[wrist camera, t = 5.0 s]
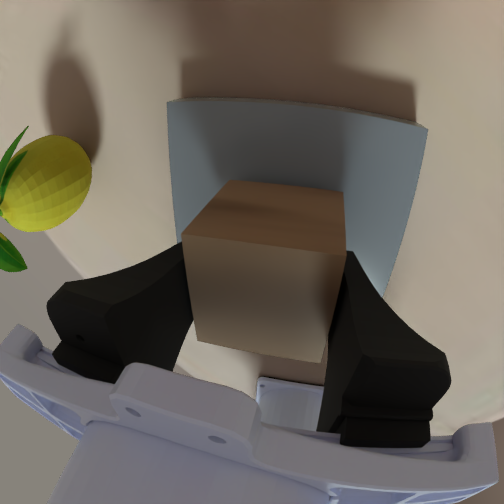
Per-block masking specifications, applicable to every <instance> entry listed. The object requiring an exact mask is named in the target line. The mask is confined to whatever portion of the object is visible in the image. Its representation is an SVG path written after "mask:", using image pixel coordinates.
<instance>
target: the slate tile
mask: <svg viewBox="0 0 504 504" xmlns="http://www.w3.org/2000/svg"><path fill="white" fill-rule="evenodd" d="M167 121H168V141H169V158H170V172H171V185H172V196H173V207H174V217H175V227H176V236H177V244H178V243H179V242H181V241H182V239H181V233H182V232H183V231H184V230H185V228H186V227H187V226H188V225H189V224H190V223H191V222H192V220H193V219H194V218H195V217H196V216H197V215H198V214H199V213H200V211H201V210H202V209H203V208H204V207H205V206H206V205H207V204H208V202H209V201H210V200H211V199H212V198H213V197H214V196H215V195H216V194H217V193H218V191H219V190H220V189H221V188H222V187H223V186H224V185H225V184H226V183H227V182H228V181H229V180H240V181H252V182H263V183H273V184H283V185H292V186H301V187H309V188H317V189H325V190H333V191H340V192H343V196H344V211H345V229H346V250H349V251H353V252H354V254H355V255H356V257H357V259H358V261H359V263H360V264H361V266H362V268H363V270H364V271H365V273H366V275H367V276H368V278H369V279H370V281H371V283H372V284H373V286H374V287H375V289H376V290H377V291H378V293H379V294H380V296H381V297H383V295H384V292H385V289H386V286H387V284H388V281H389V278H390V275H391V272H392V269H393V266H394V263H395V260H396V257H397V254H398V251H399V248H400V245H401V242H402V238H403V235H404V232H405V228H406V225H407V221H408V218H409V214H410V210H411V207H412V203H413V199H414V195H415V191H416V187H417V182H418V178H419V174H420V169H421V165H422V160H423V155H424V150H425V144H426V139H427V133H428V129H427V128H425V127H424V126H422V125H420V124H419V123H417V122H413V121H409V120H405V119H401V118H396V117H392V116H387V115H382V114H377V113H372V112H367V111H361V110H356V109H350V108H343V107H337V106H330V105H322V104H314V103H305V102H296V101H285V100H272V99H255V98H223V97H200V98H182V99H177V100H173V101H169V102H167Z"/></svg>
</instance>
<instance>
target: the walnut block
mask: <svg viewBox="0 0 504 504" xmlns="http://www.w3.org/2000/svg"><path fill="white" fill-rule="evenodd" d="M181 239H182V246H183V254H184V261H185V268H186V275H187V281H188V288H189V294H190V300H191V306H192V312H193V318H194V324H195V330H196V335H197V341H201V342H205V343H210V344H214V345H219V346H223V347H228V348H233V349H238V350H243V351H248V352H253V353H258V354H264V355H269V356H275V357H281V358H287V359H293V360H300V361H306V362H313V363H320V362H321V359H322V355H323V352H324V348H325V345H326V341H327V337H328V333H329V330H330V326H331V322H332V318H333V314H334V310H335V306H336V302H337V297H338V293H339V289H340V284H341V280H342V275H343V271H344V266H345V261H346V256H347V254H346V229H345V211H344V196H343V192H340V191H333V190H325V189H317V188H309V187H301V186H292V185H283V184H273V183H263V182H252V181H240V180H229V181H228V182H227V183H226V184H225V185H224V186H223V187H222V188H221V189H220V190H219V191H218V193H217V194H216V195H215V196H214V197H213V198H212V199H211V200H210V201H209V202H208V204H207V205H206V206H205V207H204V208H203V209H202V210H201V211H200V213H199V214H198V215H197V216H196V217H195V218H194V219H193V220H192V222H191V223H190V224H189V225H188V226H187V227H186V228H185V230H184V231H183V232H182V233H181Z"/></svg>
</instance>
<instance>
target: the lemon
mask: <svg viewBox="0 0 504 504" xmlns="http://www.w3.org/2000/svg"><path fill="white" fill-rule="evenodd" d="M28 127H29V126H27V127H26V128H25V130H24V131H23V132H22V133H21V134H20V135H19V136H18V137H17V138H16V139H15V141H14V142H13V143H12V144H11V146H10V147H9V148H8V150H7V151H6V153H5V154H4V156H3V158H2V160H1V162H0V216H1V217H3V218H4V219H5V220H6V221H7V222H8V223H9V224H10V225H12V226H13V227H14V228H17V229H19V230H22V231H25V232H36V231H44V230H48V229H51V228H53V227H56V226H58V225H59V224H61V223H63V222H64V221H65V220H67V219H68V218H69V217H70V216H71V215H73V214H74V213H75V212H76V211H77V210H78V209H79V208H80V206H81V205H82V203H83V201H84V199H85V197H86V195H87V193H88V191H89V188H90V184H91V178H92V167H91V163H90V160H89V158H88V156H87V154H86V152H85V151H84V149H83V148H82V147H81V146H80V145H79V144H78V143H76V142H75V141H73V140H71V139H70V138H68V137H64V136H58V135H48V136H45V137H42V138H39V139H37V140H35V141H33V142H31V143H29V144H27V145H26V146H24V147H23V148H22V149H20V150H19V151H18V152H17V153H16V154H15V155H14V156H13V157H12V154H13V152H14V150H15V149H16V147H17V145H18V143H19V141H20V139H21V138H22V136H23V134H24V133H25V131H26V130H27V128H28ZM11 157H12V158H11ZM0 269H2V270H4V271H8V272H19V271H22V270H25V269H27V266H26V264H25V262H24V259H23V258H22V256H21V254H20V253H19V251H18V250H17V249H16V248H15V246H14V245H13V244H12V243H11V242H10V241H9V240H8V239H7V238H6V237H5V236H4V235H3V234H2V233H0Z"/></svg>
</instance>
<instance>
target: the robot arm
mask: <svg viewBox="0 0 504 504" xmlns="http://www.w3.org/2000/svg"><path fill="white" fill-rule="evenodd" d="M346 254H347V256H346V261H345V266H344V271H343V275H342V280H341V284H340V289H339V293H338V297H337V302H336V306H335V310H334V314H333V318H332V322H331V326H330V330H329V333H328V361H327V369H326V376H325V383H324V387H322V386H315V385H308V384H301V383H295V382H289V381H283V380H277V379H272V378H266V377H260V378H258V381H257V393H256V401H255V400H254V399H252V398H251V397H249V396H248V395H247V394H245V393H244V392H242V391H239V390H236V389H233V388H230V387H228V386H224V385H220V384H216V383H212V382H208V381H204V380H200V379H197V378H193V377H189V376H186V375H182V374H179V373H175V372H173V368H174V366H175V363H176V360H177V357H178V355H179V352H180V349H181V347H182V344H183V342H184V339H185V337H186V334H187V332H188V330H189V328H190V326H191V324H192V322H193V320H194V318H193V312H192V306H191V300H190V294H189V288H188V281H187V275H186V268H185V261H184V254H183V246H182V241H181V242H179V243H178V244H176V245H174V246H173V247H171V248H169V249H167V250H165V251H163V252H161V253H160V254H158V255H156V256H154V257H152V258H150V259H148V260H146V261H143V262H141V263H138V264H136V265H134V266H131V267H128V268H125V269H122V270H119V271H116V272H113V273H110V274H106V275H103V276H98V277H94V278H89V279H84V280H77V281H71V282H65V283H64V285H62V286H61V287H60V289H59V290H58V291H57V292H56V293H55V294H54V295H53V296H52V297H51V298H50V300H48V302H47V312H48V315H49V318H50V320H51V322H52V324H53V326H54V328H55V330H56V331H57V333H58V335H59V337H60V339H61V340H62V341H61V343H60V344H59V345H58V346H57V348H56V349H55V350H54V351H52V350H50V349H48V348H45V347H44V346H43V345H42V342H41V341H40V339H39V337H38V336H37V335H36V334H35V333H34V332H33V331H32V330H30V329H28V328H26V327H24V326H22V325H20V324H17V325H16V326H15V328H14V329H13V330H12V331H11V332H10V333H9V334H8V336H7V337H6V338H5V339H4V340H3V342H2V343H1V344H0V379H1V380H2V381H3V382H4V383H5V385H6V386H7V387H8V388H9V389H10V390H11V392H12V393H13V394H14V395H15V396H16V397H18V398H19V399H20V400H22V401H23V402H24V403H26V404H27V405H28V406H30V407H31V408H32V409H34V410H35V411H37V412H38V413H39V414H41V415H42V416H43V417H45V418H46V419H48V420H49V421H51V422H52V423H53V424H55V425H56V426H58V427H59V428H61V429H62V430H64V431H65V432H67V433H68V434H70V435H71V436H73V437H75V438H76V439H78V440H79V443H78V445H77V446H76V448H75V450H74V452H73V454H72V456H71V457H70V459H69V461H68V463H67V465H66V467H65V469H64V471H63V472H62V474H61V477H60V478H59V480H58V482H57V484H56V486H55V488H54V490H53V492H52V494H51V496H50V498H49V500H48V502H47V504H451V503H456V502H460V501H462V500H464V499H466V498H468V497H470V496H473V495H475V494H477V493H479V492H481V491H483V490H485V489H486V488H488V487H490V486H492V485H494V484H496V483H497V482H498V481H499V476H498V465H497V456H496V449H495V441H494V434H493V428H492V423H491V422H486V423H476V424H468V425H465V426H463V427H461V428H459V429H458V430H457V431H456V432H455V433H454V434H453V435H449V436H430V424H429V421H431V420H432V418H433V411H432V408H433V407H434V406H435V404H436V403H437V402H438V401H439V400H440V399H441V398H442V397H443V396H444V394H445V393H446V392H447V390H448V389H449V387H450V384H451V375H450V370H449V365H448V361H447V358H446V355H445V353H444V352H442V351H441V350H439V349H438V348H436V347H435V346H433V345H432V344H430V343H429V342H427V341H426V340H425V339H423V338H422V337H421V336H420V335H418V334H417V333H416V332H415V331H414V330H412V329H411V328H410V327H409V326H408V325H407V324H406V323H405V322H404V321H403V320H402V319H401V318H400V317H399V316H398V315H397V314H396V313H395V312H394V311H393V310H392V309H391V308H390V307H389V305H388V304H387V303H386V302H385V301H384V299H383V298H382V297H381V296H380V294H379V293H378V291H377V290H376V289H375V287H374V286H373V284H372V283H371V281H370V279H369V278H368V276H367V275H366V273H365V271H364V270H363V268H362V266H361V264H360V263H359V261H358V259H357V257H356V255H355V254H354V252H353V251H349V250H346Z"/></svg>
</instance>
